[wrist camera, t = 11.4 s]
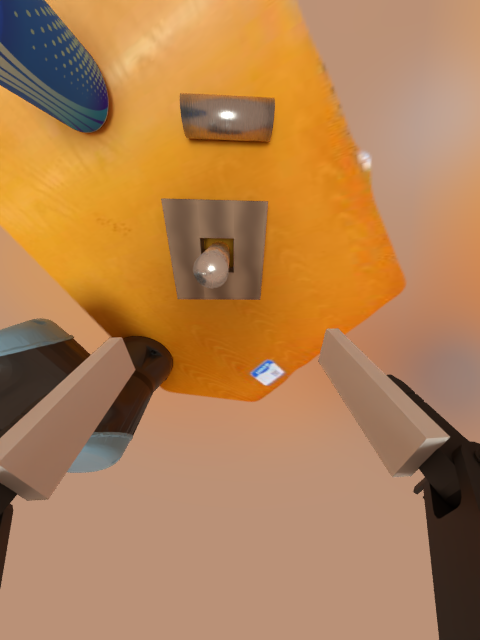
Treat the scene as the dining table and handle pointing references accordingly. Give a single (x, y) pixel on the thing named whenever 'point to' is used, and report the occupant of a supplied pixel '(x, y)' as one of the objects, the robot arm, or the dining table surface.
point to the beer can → (50, 65)
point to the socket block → (216, 222)
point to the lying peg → (227, 117)
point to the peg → (213, 265)
